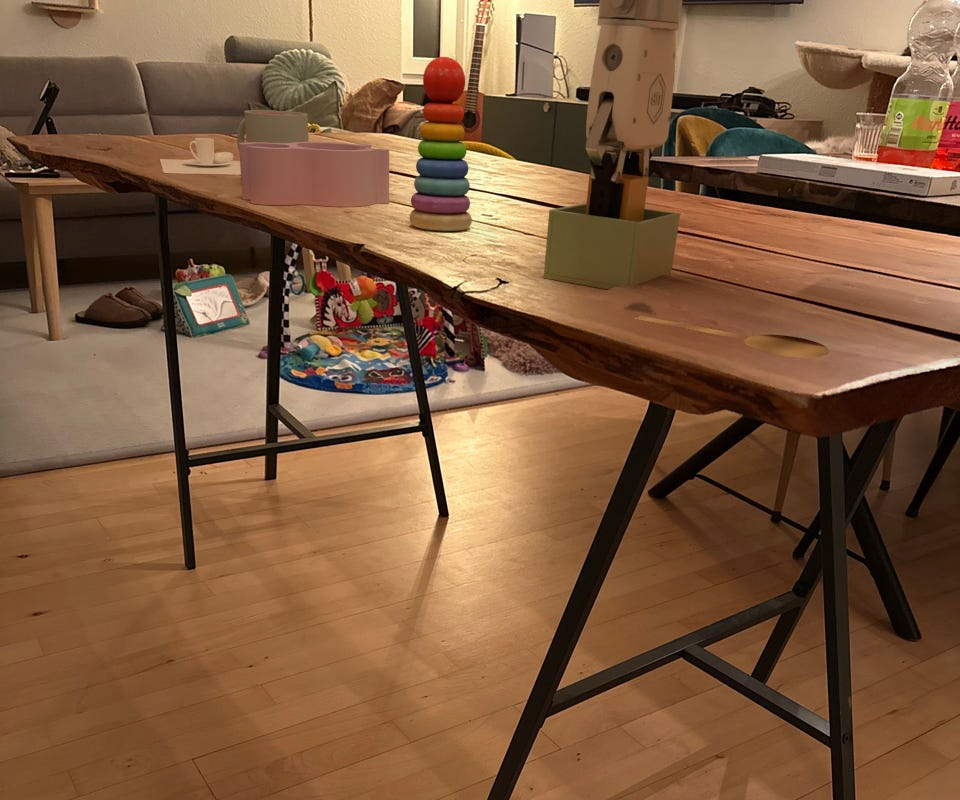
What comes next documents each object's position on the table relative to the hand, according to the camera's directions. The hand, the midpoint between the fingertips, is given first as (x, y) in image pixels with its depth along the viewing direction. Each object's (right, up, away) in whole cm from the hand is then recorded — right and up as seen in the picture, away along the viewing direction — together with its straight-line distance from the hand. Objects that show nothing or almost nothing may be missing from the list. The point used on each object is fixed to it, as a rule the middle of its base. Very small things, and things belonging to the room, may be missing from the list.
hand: (614, 220), depth 98 cm
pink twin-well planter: (-37, +20, +40) cm, 58 cm away
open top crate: (0, -5, +3) cm, 6 cm away
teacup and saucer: (-58, +38, +67) cm, 97 cm away
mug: (-46, +28, +51) cm, 74 cm away
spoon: (+7, -18, -18) cm, 26 cm away
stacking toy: (-19, +10, +25) cm, 33 cm away
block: (0, 0, 0) cm, 0 cm away
